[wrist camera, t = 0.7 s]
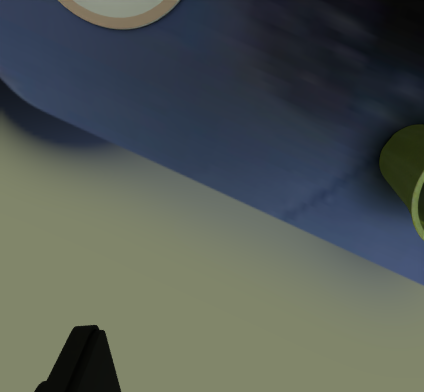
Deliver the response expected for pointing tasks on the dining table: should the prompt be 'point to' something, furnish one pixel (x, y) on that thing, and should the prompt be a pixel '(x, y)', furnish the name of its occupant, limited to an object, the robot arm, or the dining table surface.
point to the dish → (120, 11)
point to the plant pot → (407, 170)
